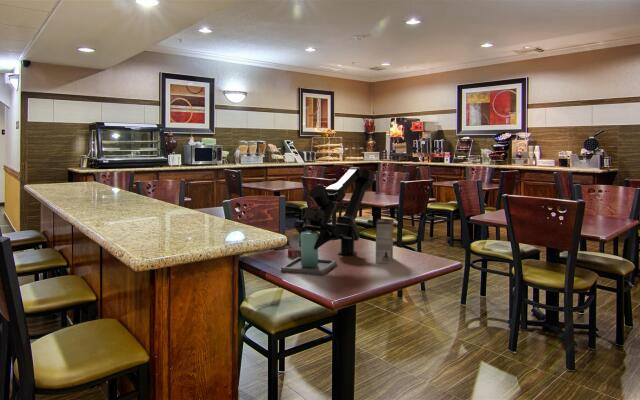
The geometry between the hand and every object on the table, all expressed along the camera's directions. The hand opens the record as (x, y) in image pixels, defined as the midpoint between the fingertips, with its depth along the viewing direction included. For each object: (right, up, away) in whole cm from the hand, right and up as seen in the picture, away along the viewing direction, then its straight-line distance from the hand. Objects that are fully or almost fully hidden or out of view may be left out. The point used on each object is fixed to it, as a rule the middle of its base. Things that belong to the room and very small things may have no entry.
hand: (307, 247), depth 170 cm
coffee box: (+30, -7, +13) cm, 33 cm away
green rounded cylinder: (+1, -6, +2) cm, 7 cm away
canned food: (-4, -6, +22) cm, 23 cm away
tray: (+1, -8, +2) cm, 8 cm away
